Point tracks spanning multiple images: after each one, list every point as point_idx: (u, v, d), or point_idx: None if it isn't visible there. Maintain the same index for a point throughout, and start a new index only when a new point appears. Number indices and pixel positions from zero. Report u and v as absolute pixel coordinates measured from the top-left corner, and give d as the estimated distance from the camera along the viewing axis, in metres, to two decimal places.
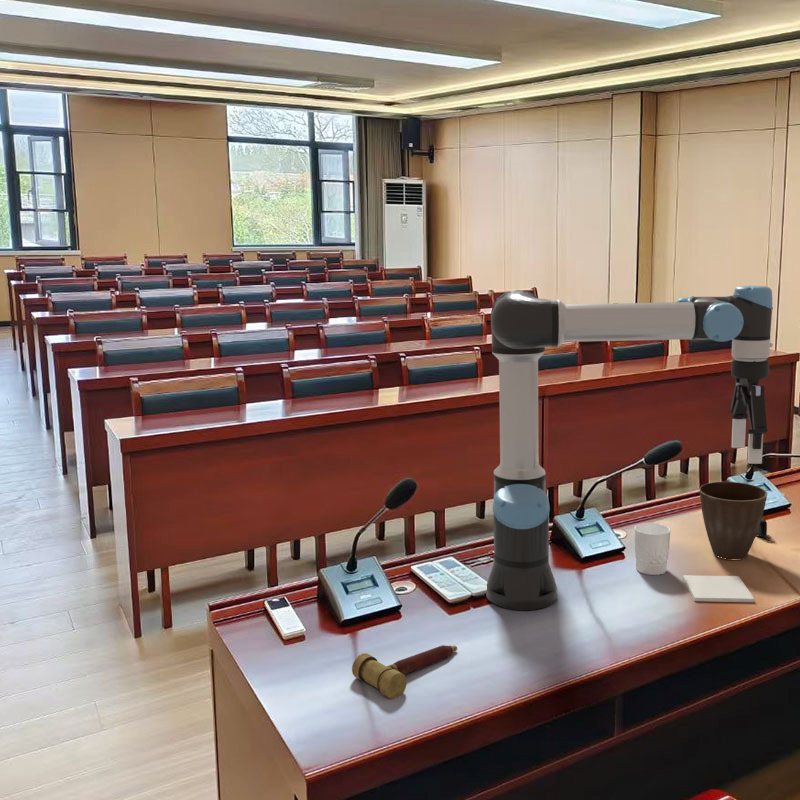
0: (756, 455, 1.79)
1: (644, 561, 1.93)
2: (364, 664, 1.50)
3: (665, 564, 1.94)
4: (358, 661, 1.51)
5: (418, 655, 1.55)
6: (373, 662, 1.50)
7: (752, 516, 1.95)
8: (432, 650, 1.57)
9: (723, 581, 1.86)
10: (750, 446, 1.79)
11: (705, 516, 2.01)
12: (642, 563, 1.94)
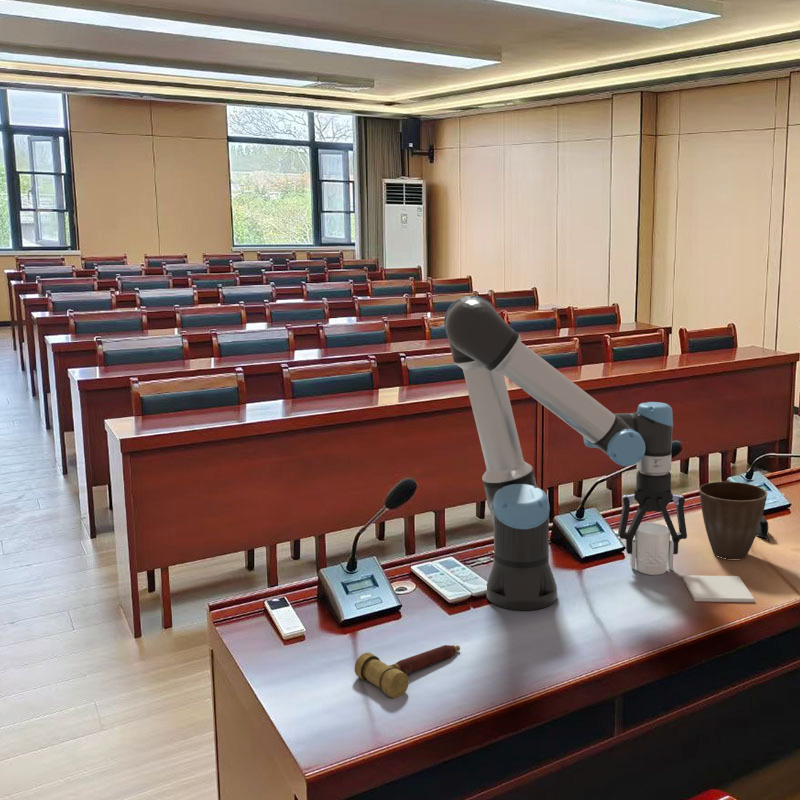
0: (631, 559, 1.96)
1: (644, 561, 1.93)
2: (366, 663, 1.50)
3: (665, 564, 1.94)
4: (360, 660, 1.51)
5: (421, 655, 1.55)
6: (375, 661, 1.50)
7: (752, 516, 1.95)
8: (435, 650, 1.57)
9: (723, 581, 1.86)
10: None
11: (705, 516, 2.01)
12: (642, 563, 1.94)
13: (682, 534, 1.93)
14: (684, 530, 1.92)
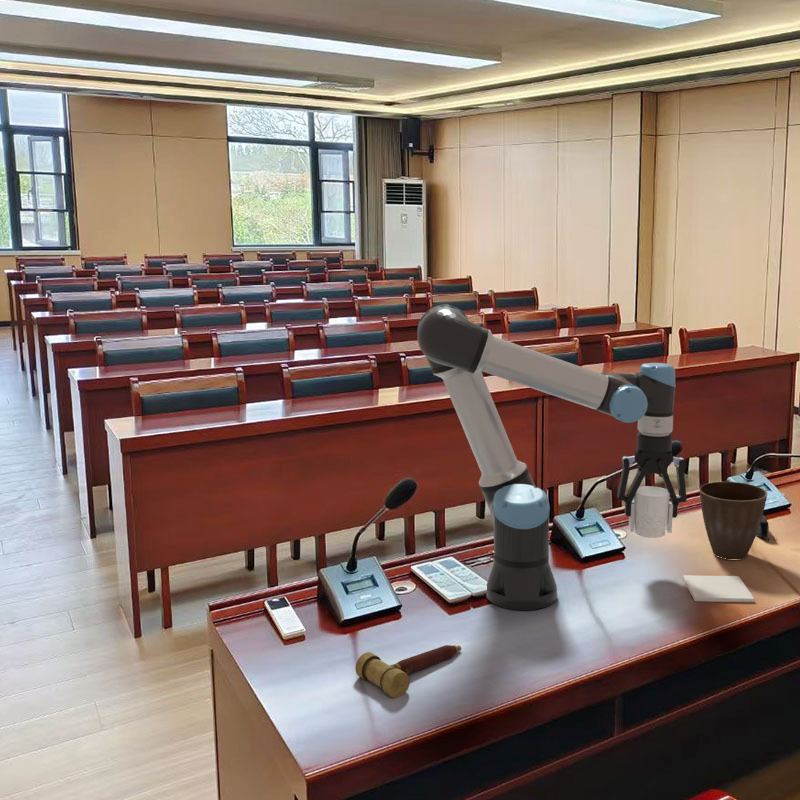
0: (630, 522, 1.94)
1: (643, 523, 1.91)
2: (367, 663, 1.50)
3: (664, 527, 1.92)
4: (361, 660, 1.51)
5: (422, 655, 1.55)
6: (376, 661, 1.50)
7: (752, 516, 1.95)
8: (436, 650, 1.57)
9: (723, 581, 1.86)
10: None
11: (705, 516, 2.01)
12: (640, 525, 1.92)
13: (682, 497, 1.91)
14: (684, 493, 1.91)
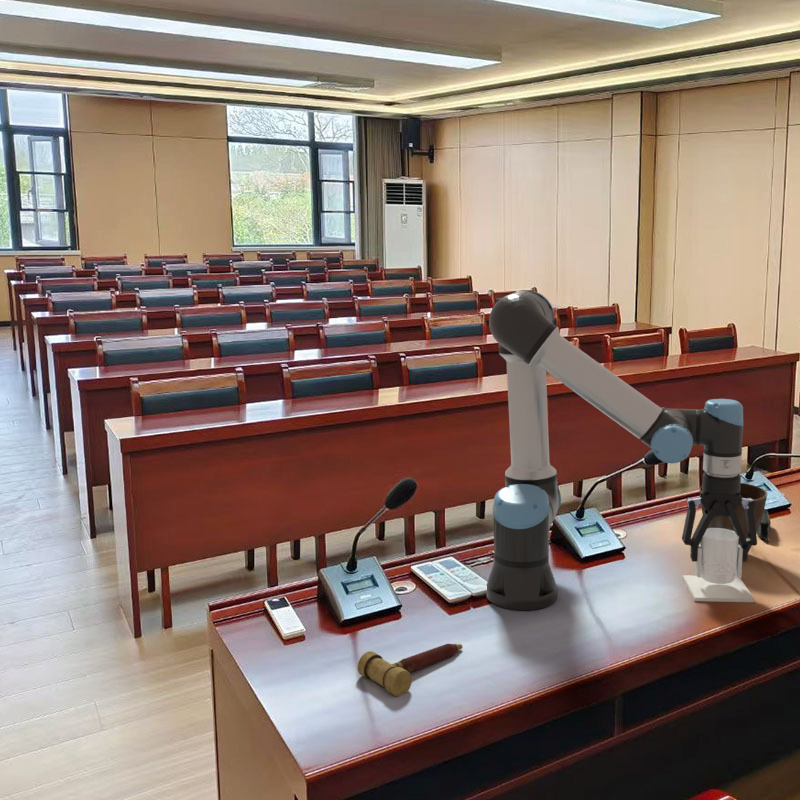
0: (696, 567, 1.83)
1: (711, 569, 1.80)
2: (369, 662, 1.51)
3: (733, 572, 1.81)
4: (363, 659, 1.51)
5: (423, 653, 1.55)
6: (378, 660, 1.50)
7: None
8: (437, 648, 1.57)
9: None
10: None
11: None
12: (708, 571, 1.81)
13: (752, 540, 1.80)
14: (754, 536, 1.80)
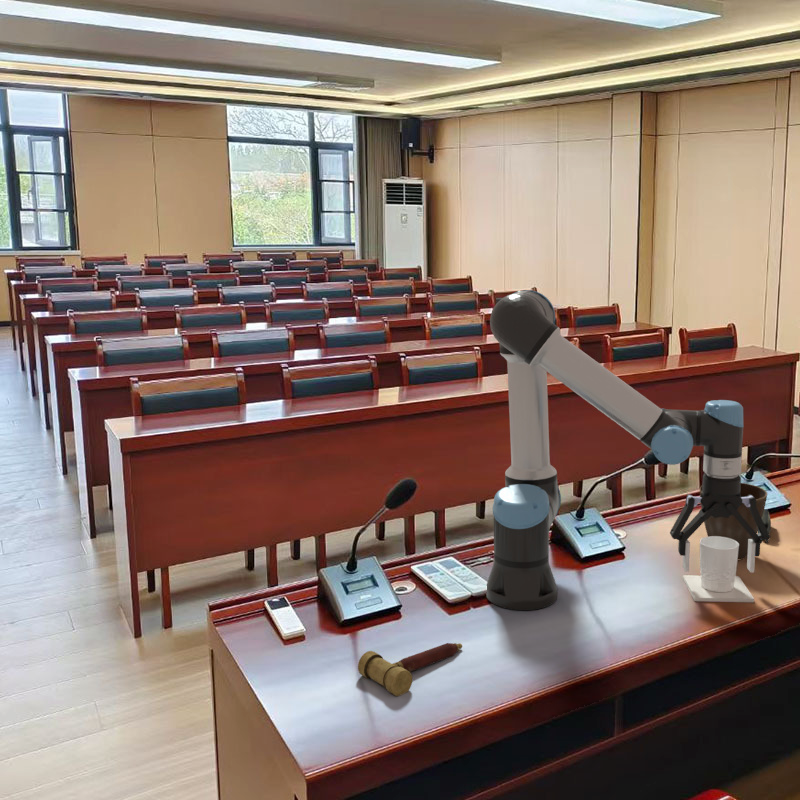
0: (684, 561, 1.84)
1: (711, 577, 1.81)
2: (370, 662, 1.51)
3: (733, 581, 1.81)
4: (364, 659, 1.52)
5: (423, 653, 1.55)
6: (379, 660, 1.51)
7: None
8: (437, 648, 1.57)
9: None
10: None
11: None
12: (708, 579, 1.82)
13: (764, 535, 1.79)
14: (765, 531, 1.79)
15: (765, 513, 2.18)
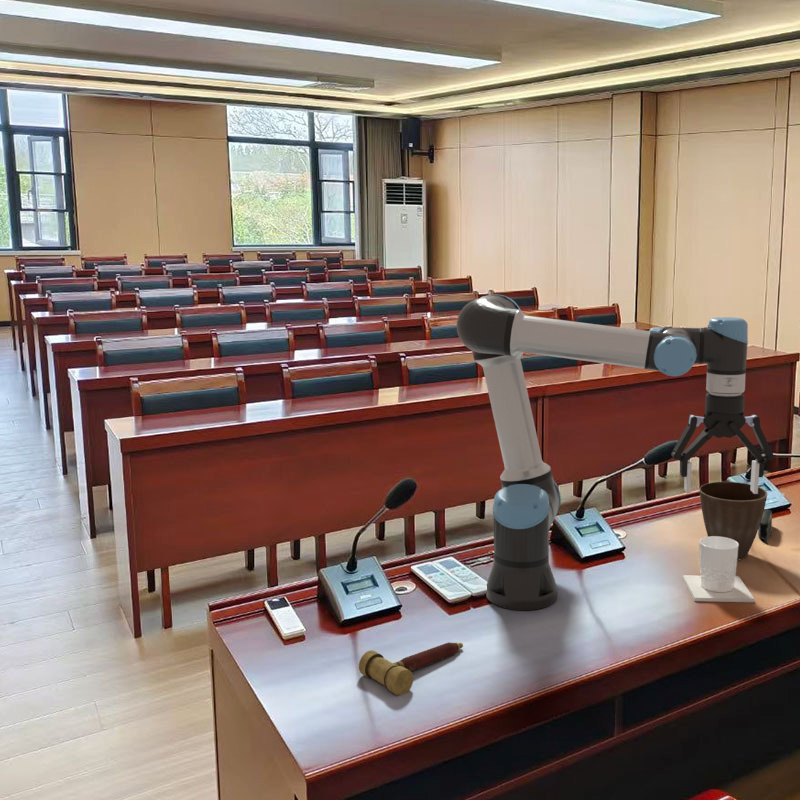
0: (685, 483, 1.80)
1: (711, 577, 1.81)
2: (371, 661, 1.51)
3: (733, 580, 1.81)
4: (365, 658, 1.52)
5: (424, 652, 1.55)
6: (380, 659, 1.51)
7: (752, 516, 1.95)
8: (438, 647, 1.58)
9: None
10: None
11: (705, 516, 2.01)
12: (708, 579, 1.82)
13: (768, 455, 1.76)
14: (769, 450, 1.76)
15: (767, 513, 2.18)
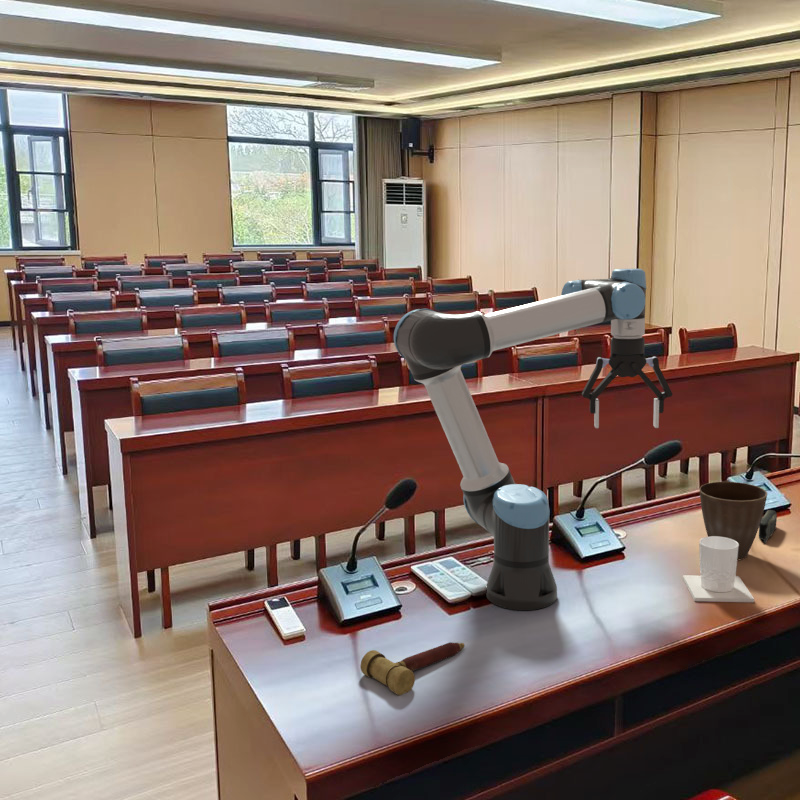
0: None
1: (711, 577, 1.81)
2: (372, 661, 1.51)
3: (733, 581, 1.81)
4: (366, 658, 1.52)
5: (426, 652, 1.56)
6: (381, 659, 1.51)
7: (752, 516, 1.95)
8: (440, 647, 1.58)
9: None
10: None
11: (705, 516, 2.01)
12: (708, 579, 1.82)
13: (667, 393, 1.96)
14: (667, 388, 1.96)
15: (770, 514, 2.17)
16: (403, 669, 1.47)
